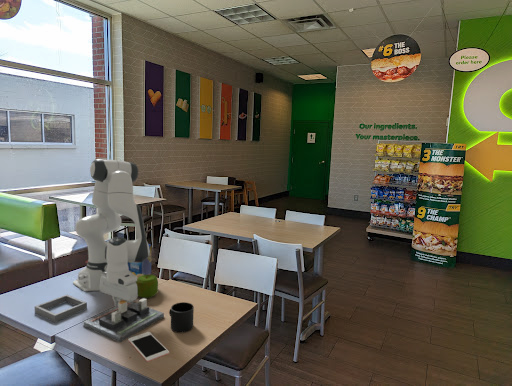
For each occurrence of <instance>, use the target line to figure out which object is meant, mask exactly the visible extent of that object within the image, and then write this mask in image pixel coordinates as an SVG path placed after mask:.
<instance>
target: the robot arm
mask: <svg viewBox="0 0 512 386" xmlns="http://www.w3.org/2000/svg"><path fill="white" fill-rule="evenodd" d="M138 167H139V166H138V165H137V164H136V163H134V162H131V161H124V160H121V159H120V160H119V159H103V158H96V159H94V160H93V161H92V162H91V164H90V167H89V173H90V176H91V178H92V179H93V180H95V183H94V186H93V191H92V192H93V193H92V199H91V202H92V204H93V206H94V207H96V208H97V212H96V214H91V215H88V216H84V217H82V218H80V219H78V220H77V221H76V223H75V232H76V234H77V235H78V236H79V237H80V238H82V239H83V240H84V241H85V243H86V245H87V255H88V259H87V260H86V261H85V264H86V265H85V267H84V268H83V269H81V270H80V271H79V272H78V275H77V279H75V280H73V282H72V285H74V286H76V287H77V288H79V289H80V290H82V291H84V292H90V291H99V292H100V293H103V294H106V295H110V296H111V297H112V300H113V304H114V307H117V306H118V303H119V302H120V301H122V300H125V301H126V302H134V301H136V300H137V299H138V297H139V296H138V290H137V284H136V281H137V277H136V276H135V275H134V274H132V273H131V272H130V271H129V267H128V262H134V261H135V262H143V261H145V260H146V259H147V258H148V257H149V245H148V244H149V243H148V241H147V235H146V230H145V223H144V218H143V214H142V210H141V209H142V208H141V207H140V205H139V204H136V202H135V199H134V186H133V183H134V182H136V180H137V179H138V176H139V168H138ZM120 215H122V216H125V217H127V218H129V219H131V220H132V221H133V222H134V227H135V233H136V239H131V240H130V239H129V240H127V238H125V237H121V236H118V237H117V236H115V237H112V238H110V239H108V241H107V240H105V237H104V235H105V234H108V233H112V232H114V231H116V230H117V229H119V228H120V227H121V225H122V217H121V216H120Z"/></svg>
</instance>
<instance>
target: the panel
mask: <svg viewBox="0 0 512 386" xmlns="http://www.w3.org/2000/svg"><path fill="white" fill-rule="evenodd" d="M147 299H148V298H141V299H139V300H137V302H134V301H132V302H128V301H126V302H127V311H125V312H123V313H121V311H118V306H114V307H112V308H111V309H109V310H106V311H104V312H102V313H99V314H97V315H95V316H93V317H91V318H89V319H86V320H85V321H83V327H85V328H87V329H89V330H91V331H94V332H95V333H99V334H100V335H102V336H105V337H107V338H109V339H112V340H114V341H116V342H118V343H122V342H123V341H124V340H126V339H127V340H128V339H129V338H131V337H133V335H134V336H135V335H136V334H137V333H139V332H140V331H143V330H144V329H146V328H148V327H149V326H151V325H153V324H155V323H156V322H158V321H160V320H161V319H163V318H164V317H165V313H164V312H162V311H159V310H156V309H154V308H151V307H150V306H147V304H148V303H147Z"/></svg>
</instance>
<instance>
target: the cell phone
mask: <svg viewBox="0 0 512 386" xmlns="http://www.w3.org/2000/svg"><path fill="white" fill-rule="evenodd" d="M127 341H128V342H129V343H130V344H131V346H132V347H133V348H134V349H135V350H136V351H137V352H138V354H140V356H141V357H142V358H143V359H144V361H145V362H148V363H149V362H152V361H153V360H156V359H159V358H161V357H164V356H167V355H169V354H170V351H169V349H167V348H166V346H164V344H162V343H161V341H160V340H158V339H157V337H155V336H154V335H153V334H152V333H151V332H150V331H147V332H144V333H140V334H138V335H134V336H130V337H128V338H127Z"/></svg>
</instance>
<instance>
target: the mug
mask: <svg viewBox="0 0 512 386" xmlns="http://www.w3.org/2000/svg"><path fill="white" fill-rule="evenodd" d="M194 310H195V309H194V304H192V303H190V302H186V301H184V302H182V301H181V302H176V303H174V304H173V305H172V306H171V307H170V309H169V311H168V313H169V316H170V329H171V330H172V331H173V332H175V333H178V334H179V333H180V334H181V333H186V332H187V333H188V332H190V331H191V330H192V329H193V328H194Z"/></svg>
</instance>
